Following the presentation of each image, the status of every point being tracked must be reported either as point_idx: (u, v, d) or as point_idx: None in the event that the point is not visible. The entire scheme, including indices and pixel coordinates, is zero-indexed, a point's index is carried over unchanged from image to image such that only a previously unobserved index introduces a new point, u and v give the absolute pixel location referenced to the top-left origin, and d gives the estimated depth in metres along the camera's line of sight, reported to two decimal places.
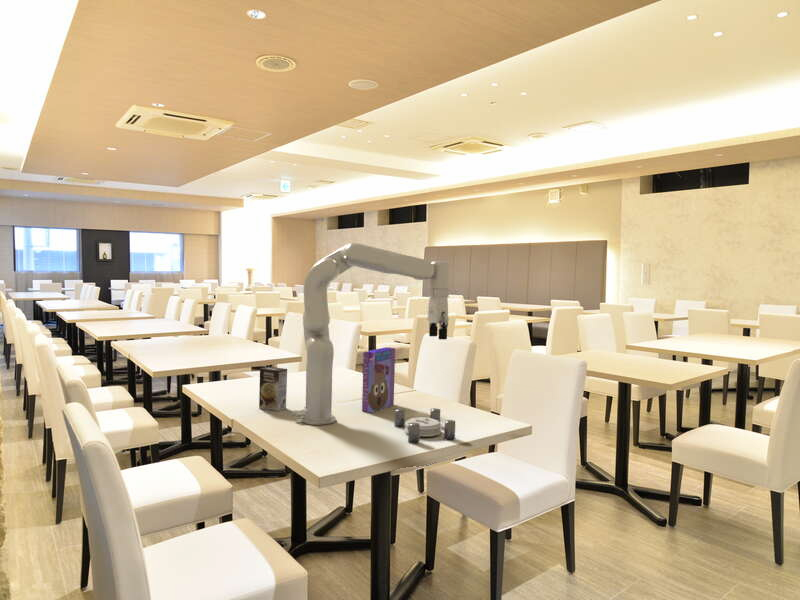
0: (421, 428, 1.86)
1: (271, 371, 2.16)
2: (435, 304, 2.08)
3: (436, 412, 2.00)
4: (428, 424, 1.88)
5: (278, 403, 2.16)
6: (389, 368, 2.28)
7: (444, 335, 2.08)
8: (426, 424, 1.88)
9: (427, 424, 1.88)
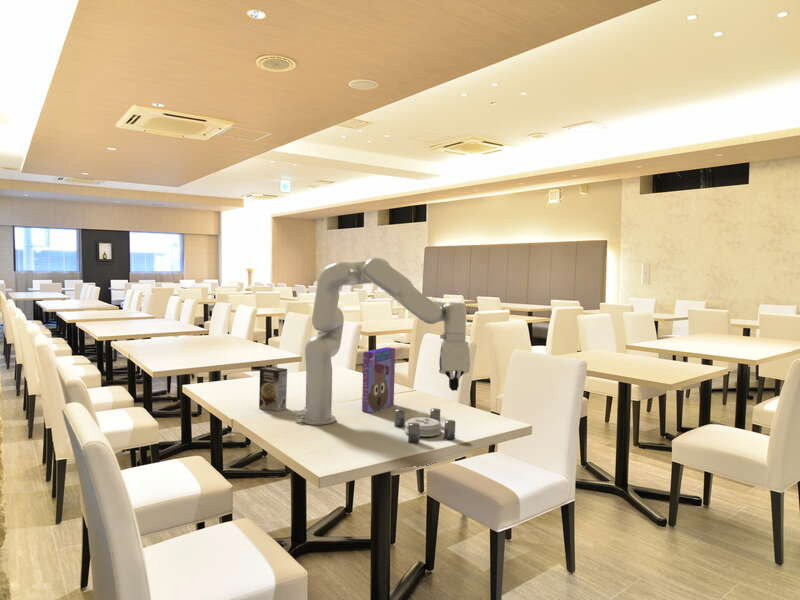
0: (421, 428, 1.86)
1: (271, 371, 2.16)
2: (465, 350, 1.92)
3: (436, 412, 2.00)
4: (428, 424, 1.88)
5: (278, 403, 2.16)
6: (389, 368, 2.28)
7: None
8: (426, 424, 1.88)
9: (427, 424, 1.88)
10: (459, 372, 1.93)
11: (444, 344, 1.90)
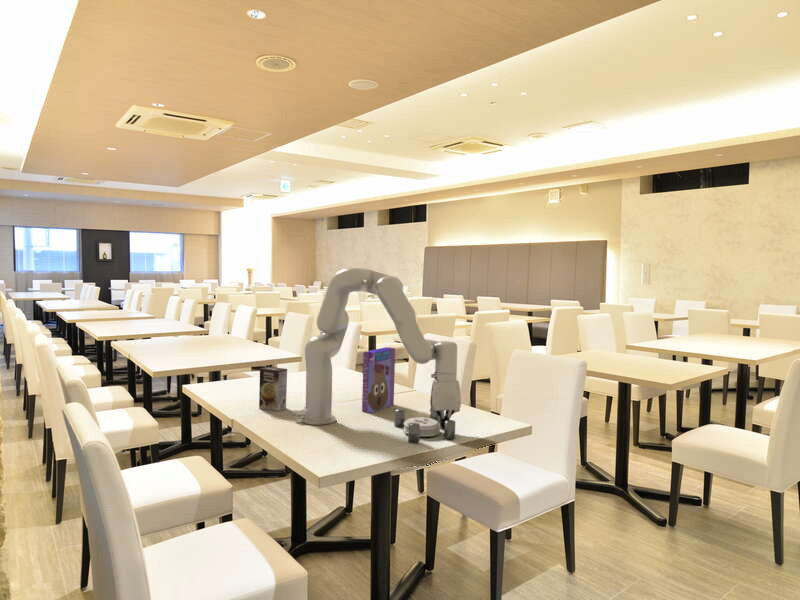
0: (420, 428, 1.86)
1: (271, 371, 2.16)
2: (456, 389, 1.92)
3: None
4: (427, 424, 1.88)
5: (278, 403, 2.16)
6: (389, 368, 2.28)
7: None
8: (425, 424, 1.88)
9: (426, 424, 1.88)
10: (450, 411, 1.93)
11: (435, 384, 1.90)
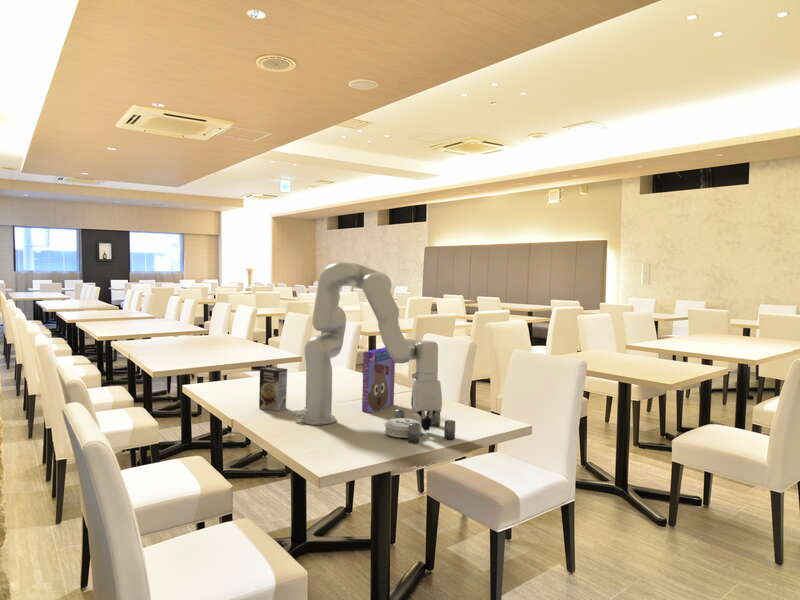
0: (401, 429, 1.84)
1: (271, 371, 2.16)
2: (437, 389, 1.90)
3: None
4: (408, 425, 1.86)
5: (278, 403, 2.16)
6: (389, 368, 2.28)
7: None
8: (406, 425, 1.86)
9: (407, 425, 1.86)
10: (431, 412, 1.91)
11: (416, 384, 1.89)
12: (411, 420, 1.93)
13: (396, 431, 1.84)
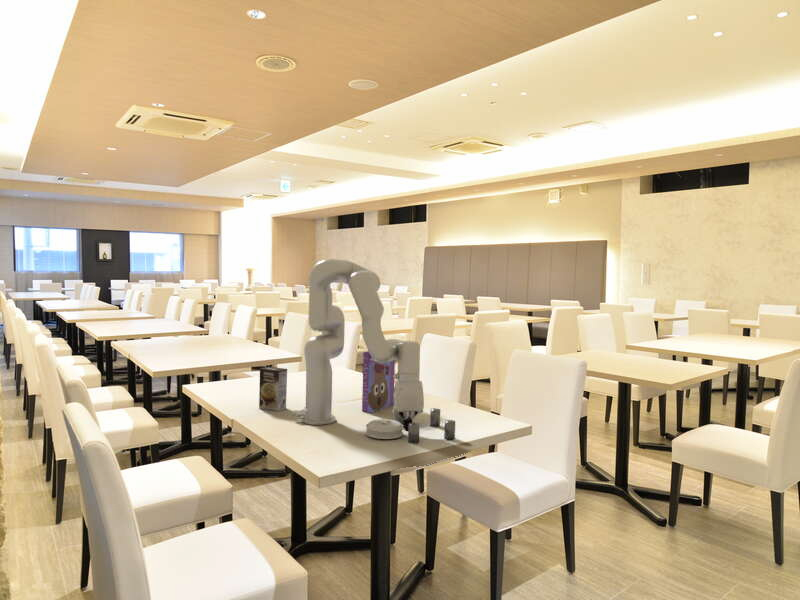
0: (382, 430, 1.82)
1: (271, 371, 2.16)
2: (419, 390, 1.88)
3: (436, 412, 2.00)
4: (389, 426, 1.84)
5: (278, 403, 2.16)
6: (389, 368, 2.28)
7: None
8: (387, 426, 1.84)
9: (388, 426, 1.84)
10: (413, 412, 1.89)
11: (397, 384, 1.87)
12: (393, 421, 1.91)
13: (377, 432, 1.82)
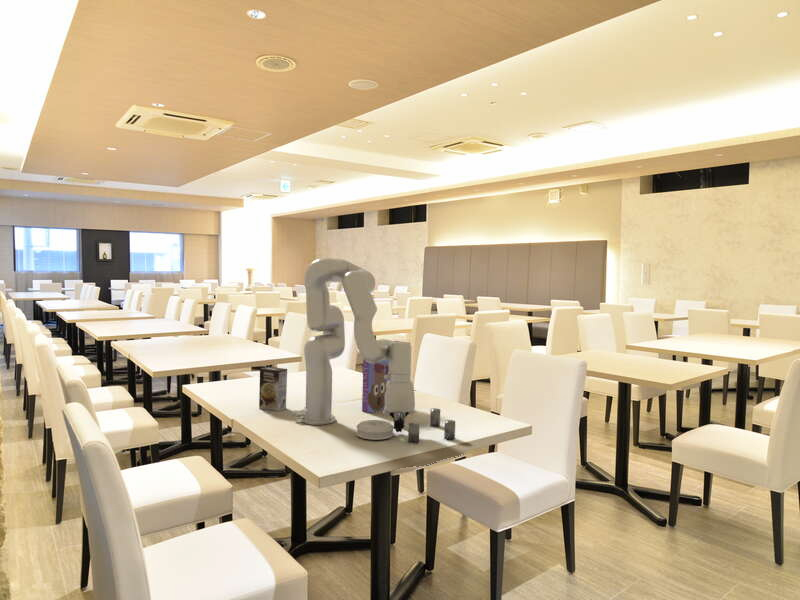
0: (372, 431, 1.81)
1: (271, 371, 2.16)
2: (410, 391, 1.87)
3: (436, 412, 2.00)
4: (379, 427, 1.83)
5: (278, 403, 2.16)
6: None
7: None
8: (377, 427, 1.83)
9: (378, 427, 1.83)
10: (404, 413, 1.89)
11: (388, 385, 1.86)
12: (384, 422, 1.90)
13: (367, 433, 1.82)
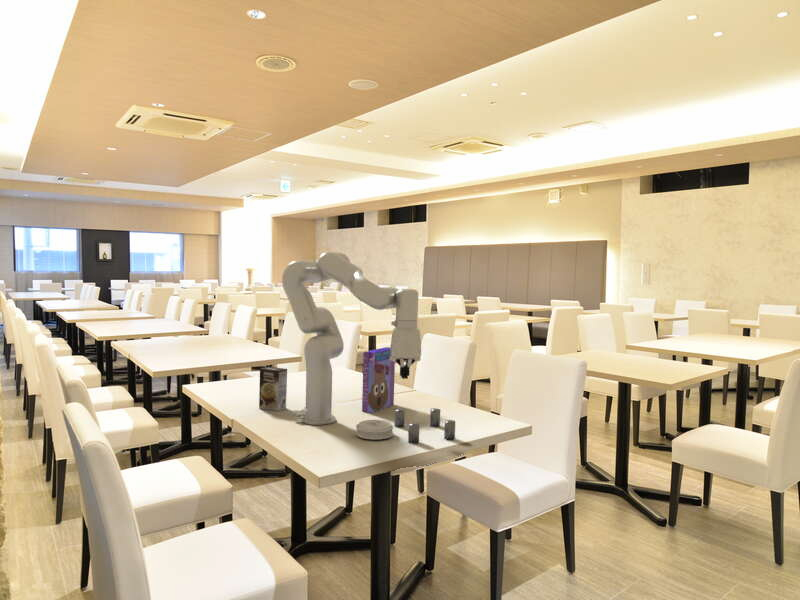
0: (371, 431, 1.81)
1: (271, 371, 2.16)
2: (417, 337, 1.88)
3: (436, 412, 2.00)
4: (379, 427, 1.83)
5: (278, 403, 2.16)
6: (389, 368, 2.28)
7: None
8: (377, 427, 1.83)
9: (378, 427, 1.83)
10: (410, 360, 1.89)
11: (395, 331, 1.87)
12: (383, 421, 1.90)
13: (367, 433, 1.82)
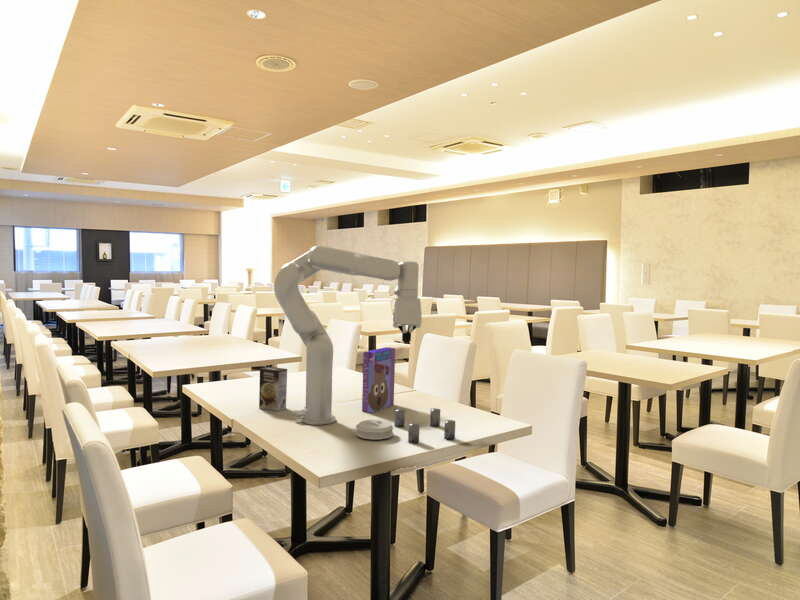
0: (371, 431, 1.81)
1: (271, 371, 2.16)
2: (417, 305, 2.05)
3: (436, 412, 2.00)
4: (379, 427, 1.83)
5: (278, 403, 2.16)
6: (389, 368, 2.28)
7: None
8: (377, 427, 1.83)
9: (378, 427, 1.83)
10: (411, 326, 2.06)
11: (397, 300, 2.04)
12: (383, 421, 1.90)
13: (367, 433, 1.82)
